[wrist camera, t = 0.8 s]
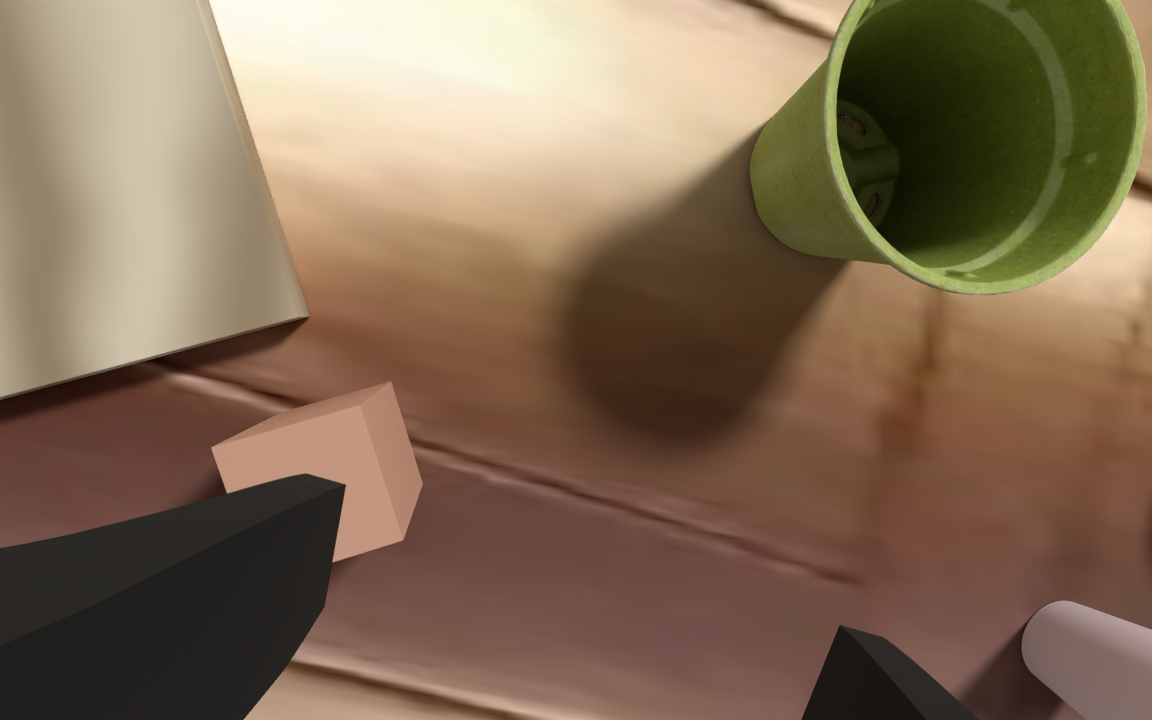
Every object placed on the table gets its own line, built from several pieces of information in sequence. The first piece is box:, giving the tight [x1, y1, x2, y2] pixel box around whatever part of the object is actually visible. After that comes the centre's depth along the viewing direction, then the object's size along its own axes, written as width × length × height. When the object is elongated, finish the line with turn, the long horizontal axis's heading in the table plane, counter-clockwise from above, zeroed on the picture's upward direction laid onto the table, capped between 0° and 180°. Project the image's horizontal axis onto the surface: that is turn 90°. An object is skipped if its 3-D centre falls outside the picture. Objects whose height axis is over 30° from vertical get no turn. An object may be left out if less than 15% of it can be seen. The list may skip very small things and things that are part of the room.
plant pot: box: [749, 0, 1147, 295], centre depth 21 cm, size 9×9×9 cm
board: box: [0, 0, 310, 400], centre depth 21 cm, size 14×14×2 cm
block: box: [212, 381, 423, 562], centre depth 21 cm, size 4×4×6 cm
